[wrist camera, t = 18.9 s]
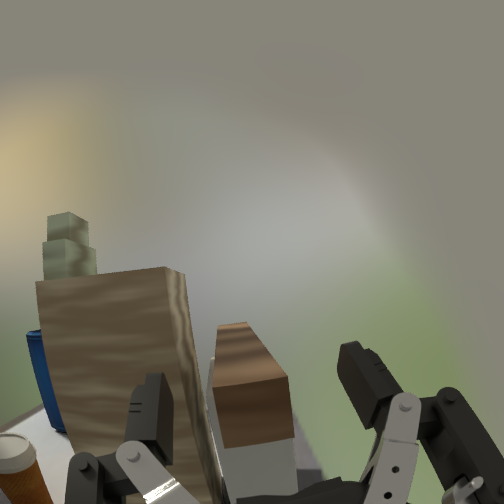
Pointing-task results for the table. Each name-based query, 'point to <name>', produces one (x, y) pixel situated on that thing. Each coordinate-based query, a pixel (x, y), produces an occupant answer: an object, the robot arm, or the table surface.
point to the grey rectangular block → (253, 461)
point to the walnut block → (249, 390)
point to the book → (44, 379)
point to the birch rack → (121, 353)
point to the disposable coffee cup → (21, 471)
